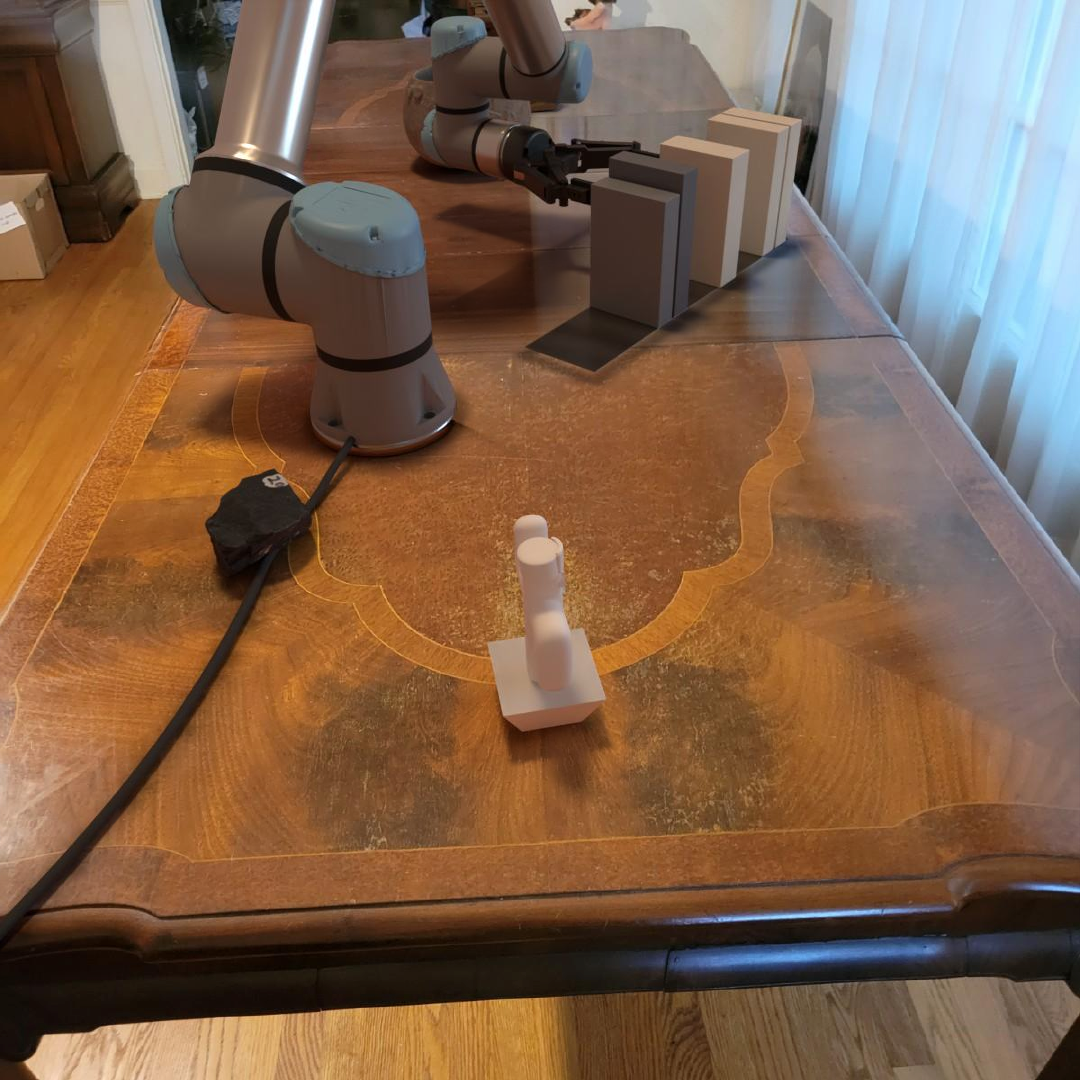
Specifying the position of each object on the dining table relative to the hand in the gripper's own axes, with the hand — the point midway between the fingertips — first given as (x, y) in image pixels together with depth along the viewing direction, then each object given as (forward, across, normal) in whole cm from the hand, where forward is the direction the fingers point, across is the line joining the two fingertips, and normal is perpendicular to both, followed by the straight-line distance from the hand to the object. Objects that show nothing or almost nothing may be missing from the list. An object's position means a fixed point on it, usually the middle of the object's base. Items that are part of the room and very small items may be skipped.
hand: (645, 183), depth 125 cm
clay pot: (-48, -19, -11) cm, 52 cm away
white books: (+8, -13, -10) cm, 18 cm away
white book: (+8, 0, -10) cm, 13 cm away
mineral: (+7, +69, -11) cm, 70 cm away
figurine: (+38, +69, -11) cm, 79 cm away
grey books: (+8, +12, -10) cm, 18 cm away
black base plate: (+8, +5, -11) cm, 15 cm away
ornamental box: (-72, -58, -11) cm, 93 cm away
